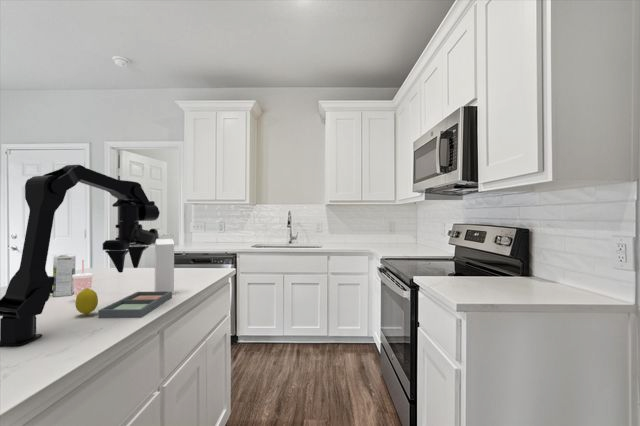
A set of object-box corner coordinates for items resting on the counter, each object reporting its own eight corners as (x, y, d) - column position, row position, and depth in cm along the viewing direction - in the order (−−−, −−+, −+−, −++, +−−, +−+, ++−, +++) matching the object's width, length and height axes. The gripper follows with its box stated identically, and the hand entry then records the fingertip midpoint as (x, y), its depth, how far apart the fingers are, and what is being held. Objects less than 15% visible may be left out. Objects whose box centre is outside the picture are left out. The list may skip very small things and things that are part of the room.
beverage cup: (91, 301, 118) (92, 260, 118) (70, 303, 116) (70, 261, 116) (94, 297, 124) (94, 258, 124) (73, 299, 121) (74, 259, 121)
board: (141, 317, 101) (141, 309, 101) (98, 317, 100) (98, 310, 100) (171, 297, 125) (171, 291, 125) (137, 297, 124) (137, 291, 124)
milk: (154, 293, 131) (154, 235, 131) (171, 291, 134) (171, 234, 135) (156, 296, 126) (156, 235, 126) (174, 294, 129) (174, 235, 129)
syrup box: (56, 293, 130) (56, 254, 130) (75, 292, 132) (75, 254, 132) (52, 297, 124) (52, 256, 124) (72, 295, 127) (72, 255, 127)
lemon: (86, 318, 99) (86, 290, 99) (70, 317, 100) (70, 289, 100) (102, 313, 105) (102, 286, 105) (86, 312, 106) (86, 285, 106)
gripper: (140, 222, 102) (139, 275, 102) (166, 220, 121) (166, 265, 121) (101, 221, 102) (101, 275, 102) (133, 220, 121) (133, 265, 121)
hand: (128, 270), depth 111 cm, fingers open, 9 cm apart
